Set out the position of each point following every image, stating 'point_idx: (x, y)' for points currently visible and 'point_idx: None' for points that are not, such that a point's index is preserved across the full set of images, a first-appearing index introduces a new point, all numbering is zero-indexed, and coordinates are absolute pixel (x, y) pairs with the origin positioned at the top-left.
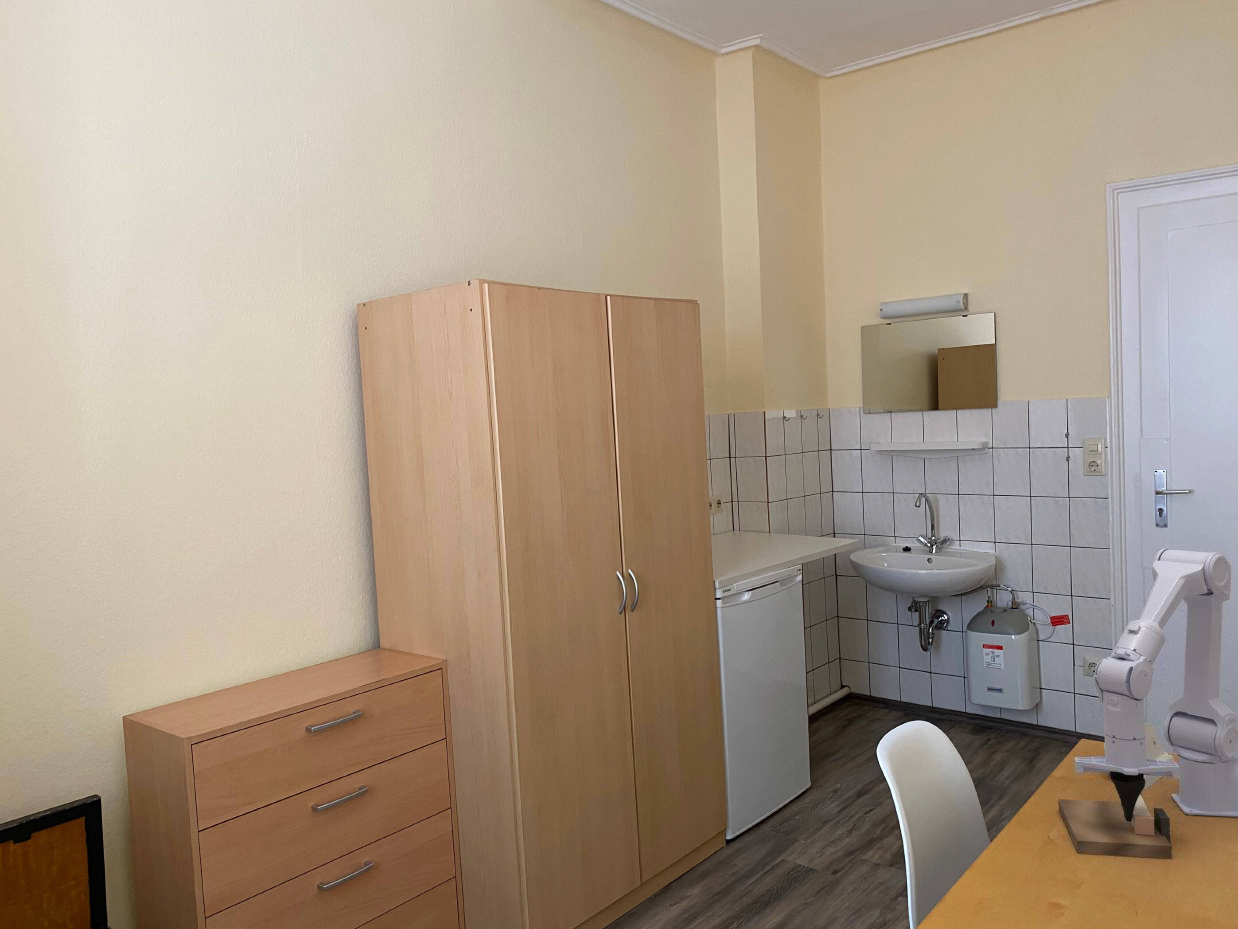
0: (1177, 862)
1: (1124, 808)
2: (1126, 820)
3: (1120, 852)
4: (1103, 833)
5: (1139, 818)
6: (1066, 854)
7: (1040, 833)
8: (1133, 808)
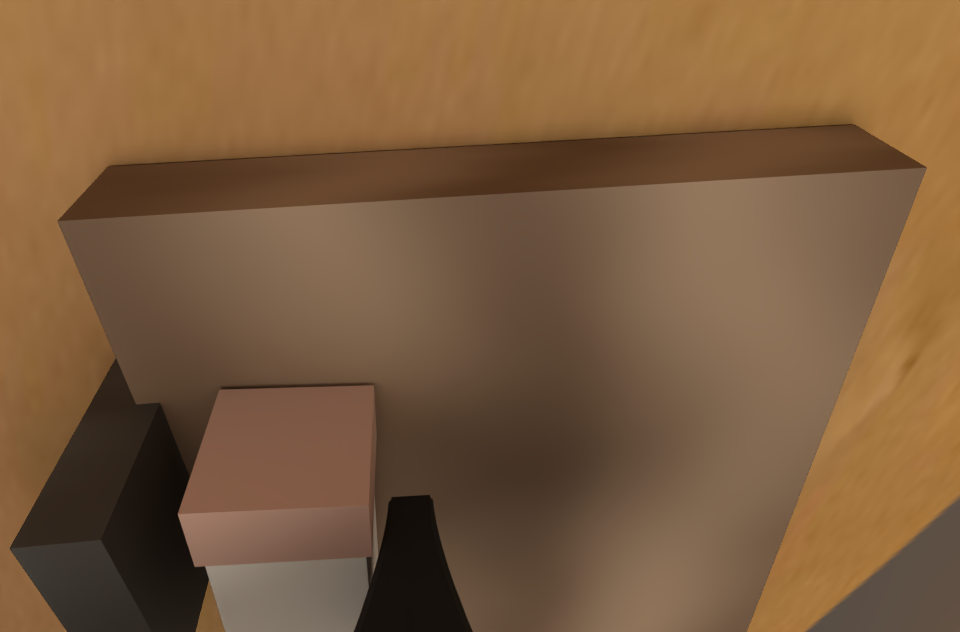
0: (56, 109)
1: (458, 600)
2: (433, 503)
3: (530, 154)
4: (630, 352)
5: (321, 502)
6: (954, 89)
7: (939, 386)
8: (367, 612)
